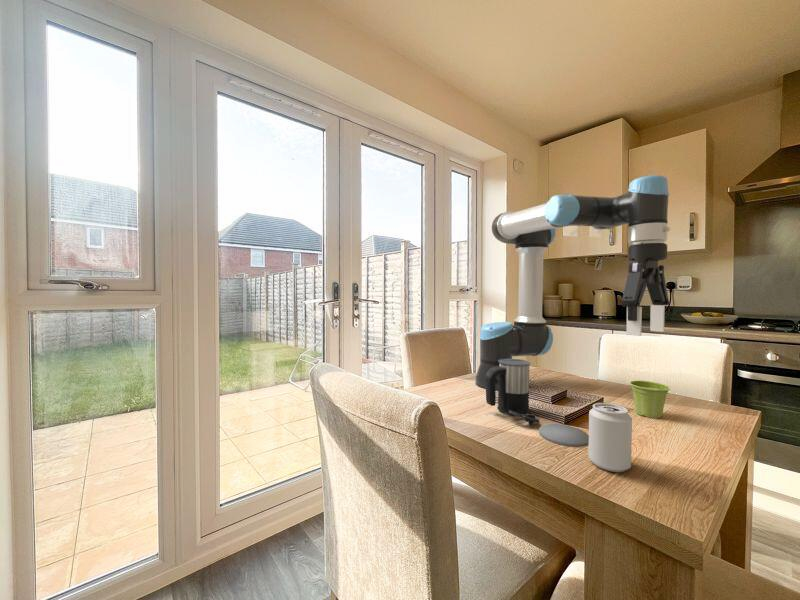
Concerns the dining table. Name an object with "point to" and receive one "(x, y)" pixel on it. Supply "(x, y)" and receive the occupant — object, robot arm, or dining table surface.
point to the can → (610, 437)
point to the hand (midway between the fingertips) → (646, 333)
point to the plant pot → (649, 398)
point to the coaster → (564, 435)
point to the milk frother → (510, 388)
